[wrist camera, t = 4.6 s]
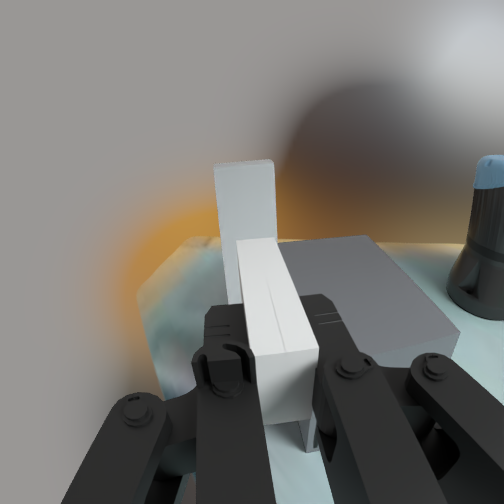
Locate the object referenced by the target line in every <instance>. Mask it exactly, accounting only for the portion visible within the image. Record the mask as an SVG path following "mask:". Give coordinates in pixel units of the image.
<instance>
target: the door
mask: <svg viewBox="0 0 504 504" xmlns="http://www.w3.org/2000/svg"><path fill="white" fill-rule="evenodd" d="M214 179H215V188H216V198H217V208H218V217H219V227H220V236H221V245H222V254H223V262H224V271H225V279H226V288H227V296H228V304H239V303H242V302H241V292H240V280H239V269H238V257H237V245H236V240H247V239H258V238H270V237H274V238H275V240H276V243H277V221H276V197H275V176H274V163H273V162H272V161H271V160H270V159H269V160H268V159H267V160H254V161H241V162H231V163H221V164H220V163H219V164H214Z"/></svg>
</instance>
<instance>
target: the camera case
mask: <svg viewBox="0 0 504 504" xmlns="http://www.w3.org/2000/svg"><path fill="white" fill-rule="evenodd" d="M277 245H278V248H279V250H280V252H281V255H282V257H283V260H284V262H285V264H286V267H287V269H288V272H289V274H290V277H291V279H292V281H293V284H294V286H295V289H296V291H297V294H298V296H305V295H313V294H321V293H322V294H323V295H324V296H326V297H327V298H328V299H330V300H331V301H332V302H333V303H334V305H335V307H336V309H337V311H338V313H339V314H340V316H341V318H342V321H343V322H344V324H345V326H346V327H347V329H348V331H349V333H350V335H351V337H352V339H353V341H354V342H355V344H356V346H357V348H358V350H359V352H363V353H365V354H367V355H369V356H371V357H372V358H373V359H374V360H375V361H376V363H377V364H378V365H379V366H384V367H401V368H410V366H411V364H412V361H413V360H414V359H415V358H416V357H417V356H418V355H421V354H424V353H439V354H442V355H445V356H447V357H448V358H450V359H451V356H452V353H453V351H454V348H455V346H456V343H457V340H458V338H459V335H460V331H459V330H458V329H457V328H456V327H455V325H454V324H453V323H452V322H451V321H450V320H449V319H448V318H447V317H446V315H445V314H444V313H443V312H442V311H441V310H440V309H439V308H438V307H437V306H436V304H435V303H434V302H433V301H432V300H431V299H430V298H429V297H428V296H427V295H426V294H425V293H424V292H423V291H422V290H421V289H420V287H419V286H418V285H417V284H416V283H415V282H414V281H413V280H412V279H411V278H410V277H409V276H408V275H407V274H406V273H405V272H404V271H403V270H402V269H401V268H400V267H399V266H398V265H397V264H396V263H395V262H394V261H393V260H392V259H391V258H390V257H389V256H388V255H387V254H386V253H385V252H384V251H383V250H382V249H381V248H380V247H379V246H378V245H377V244H376V243H375V242H374V241H372V240H371V239H370V238H369V237H368V236H367V235H358V236H346V237H336V238H325V239H314V240H304V241H293V242H283V243H277ZM298 422H299V426H300V430H301V434H302V438H303V443H304V447H305V451H306V453H309V452H314V451H319V450H320V449H319V445H318V446H317V448H313V440H314V434H315V428H316V418H315V414H314V411H313V410H312V418H311V419H306V420H300V421H298Z"/></svg>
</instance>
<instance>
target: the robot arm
mask: <svg viewBox="0 0 504 504" xmlns="http://www.w3.org/2000/svg"><path fill="white" fill-rule="evenodd" d="M473 187H474V196H473V203H472V210H471V216H470V222H469V228H468V234H467V239H466V243H465V246H464V248H463V250H462V251H461V253H460V255H459V257H458V258H457V260H456V262H455V264H454V265H453V267H452V269H451V271H450V273H449V277H448V281H447V291H448V293H449V295H450V297H451V298H452V299H453V300H454V301H455V302H456V303H457V304H458V305H459V306H460V307H462V308H463V309H465V310H466V311H468V312H470V313H472V314H474V315H477V316H480V317H483V318H487V319H492V320H504V155H488V156H484V157H482V158H481V159H480V160H479V162H478V164H477V170H476V177H475V182H474V184H473ZM236 245H237V257H238V269H239V280H240V292H241V302H242V303H239V304H229V305H217V306H212V307H211V308H210V309H209V311H208V312H207V314H206V315H205V325H204V328H205V329H204V346H203V347H201V348H200V349H199V350H198V351H197V352H196V353H195V354H194V356H193V359H192V362H191V364H192V368H193V372H194V376H195V380H196V384H197V386H196V387H195V388H194V389H193V390H191V391H190V392H188V393H187V394H184V395H182V396H180V397H177V398H173V399H170V400H166V401H162V400H161V399H160V398H159V397H158V396H155V395H152V394H150V393H141V392H137V393H133V394H129V395H127V396H125V397H123V398H122V399H120V400H118V401H117V403H116V404H115V405H114V406H113V407H112V409H111V411H110V413H109V414H108V416H107V418H106V420H105V421H104V423H103V425H102V427H101V429H100V430H99V432H98V434H97V436H96V438H95V440H94V441H93V443H92V445H91V447H90V449H89V451H88V453H87V454H86V456H85V458H84V460H83V462H82V464H81V466H80V468H79V470H78V471H77V473H76V475H75V477H74V479H73V481H72V483H71V485H70V487H69V489H68V491H67V492H66V494H65V496H64V498H63V500H62V502H61V504H181V501H182V498H183V495H184V492H185V489H186V485H187V482H188V479H189V475H190V473H192V472H196V504H276V500H275V494H274V488H273V482H272V475H271V469H270V463H269V457H268V451H267V444H266V438H265V432H264V425H272V424H279V423H287V422H293V421H300V420H306V419H311V418H312V410H313V411H314V414H315V418H316V428H315V434H314V440H313V448H317V446H318V445H319V449H320V452H321V456H322V460H323V463H324V467H325V470H326V474H327V478H328V481H329V485H330V489H331V492H332V496H333V500H334V504H504V405H502V404H501V403H500V402H499V401H498V400H497V399H496V398H495V397H494V396H493V395H491V394H490V393H489V392H488V391H487V390H486V389H485V388H484V387H482V386H481V385H480V384H479V383H478V382H477V381H476V380H475V379H473V378H472V377H471V376H470V375H469V374H468V373H467V372H466V371H464V370H463V369H462V368H461V367H460V366H459V365H457V364H456V363H455V362H454V361H453V360H451V359H450V358H448V357H447V356H445V355H442V354H439V353H424V354H421V355H418V356H417V357H416V358H415V359H414V360H413V361H412V364H411V366H410V368H401V367H384V366H379V365H378V364H377V363H376V361H375V360H374V359H373V358H372V357H371V356H369V355H367V354H365V353H363V352H359V350H358V348H357V346H356V344H355V342H354V341H353V339H352V337H351V335H350V333H349V331H348V329H347V327H346V326H345V324H344V322H343V321H342V318H341V316H340V314H339V313H338V311H337V309H336V307H335V305H334V303H333V302H332V301H331V300H330V299H328V298H327V297H326V296H324V295H323V294H322V293H321V294H313V295H305V296H298V294H297V291H296V289H295V286H294V284H293V281H292V279H291V277H290V274H289V272H288V269H287V267H286V264H285V262H284V260H283V257H282V255H281V252H280V250H279V248H278V245H277V243H276V240H275V238H274V237H270V238H258V239H247V240H236Z"/></svg>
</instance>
